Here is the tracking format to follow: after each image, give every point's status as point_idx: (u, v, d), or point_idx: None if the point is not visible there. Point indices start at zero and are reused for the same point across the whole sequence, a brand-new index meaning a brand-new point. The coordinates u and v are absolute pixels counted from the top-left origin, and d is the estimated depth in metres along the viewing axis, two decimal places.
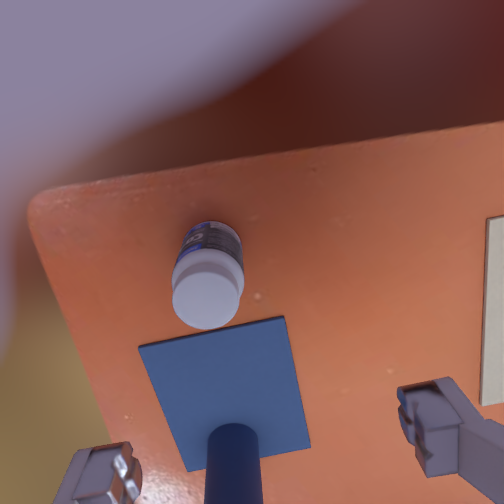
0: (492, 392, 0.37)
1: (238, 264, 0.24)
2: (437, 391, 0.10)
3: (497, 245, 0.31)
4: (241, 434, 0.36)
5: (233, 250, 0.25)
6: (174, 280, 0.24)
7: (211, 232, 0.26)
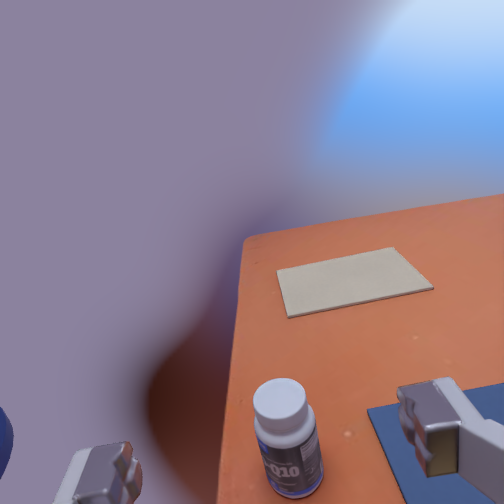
0: (418, 285, 0.52)
1: None
2: (437, 391, 0.10)
3: (303, 309, 0.52)
4: None
5: None
6: (274, 439, 0.27)
7: None
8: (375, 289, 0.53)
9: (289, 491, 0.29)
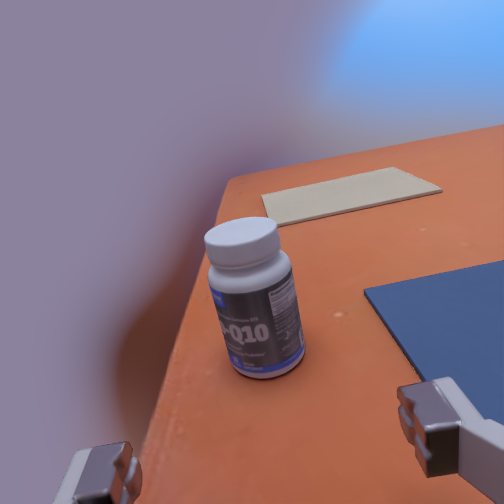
0: (424, 189, 0.44)
1: None
2: (437, 391, 0.10)
3: (289, 219, 0.44)
4: None
5: None
6: (232, 281, 0.19)
7: None
8: (374, 197, 0.45)
9: (256, 366, 0.21)
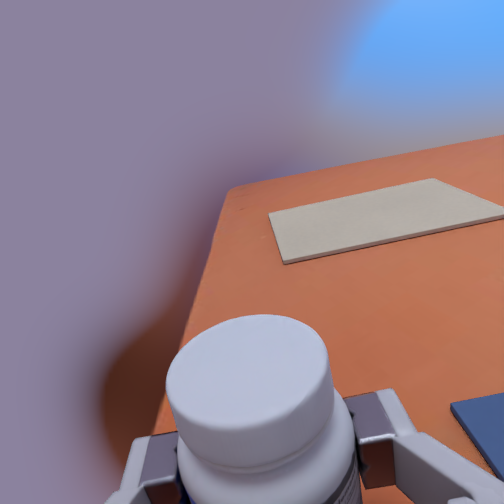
0: (488, 212, 0.33)
1: None
2: (377, 403, 0.10)
3: (308, 251, 0.33)
4: None
5: None
6: (227, 495, 0.08)
7: None
8: (419, 221, 0.34)
9: None
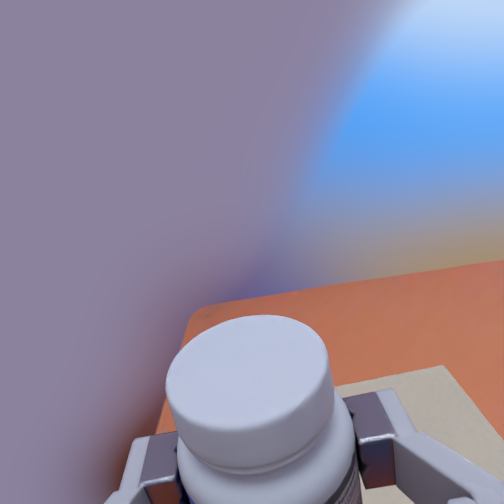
0: None
1: None
2: (377, 403, 0.10)
3: None
4: None
5: None
6: (226, 496, 0.08)
7: None
8: None
9: None
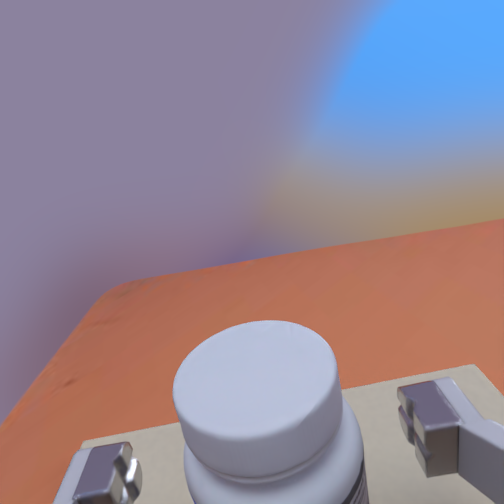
0: None
1: None
2: (437, 391, 0.10)
3: None
4: None
5: None
6: None
7: None
8: None
9: None
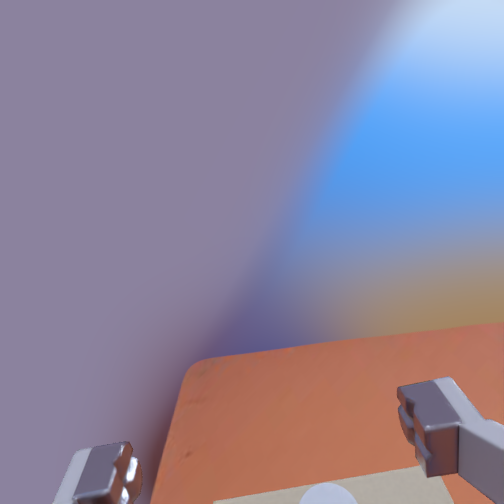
0: None
1: None
2: (437, 391, 0.10)
3: None
4: None
5: None
6: None
7: None
8: None
9: None
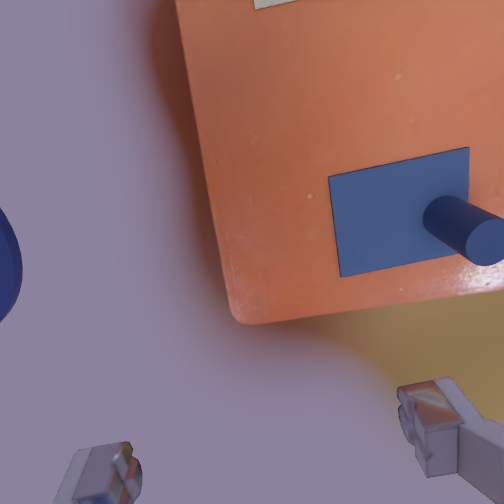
0: None
1: None
2: (437, 391, 0.10)
3: None
4: (430, 212, 0.44)
5: None
6: None
7: None
8: None
9: None
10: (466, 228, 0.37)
